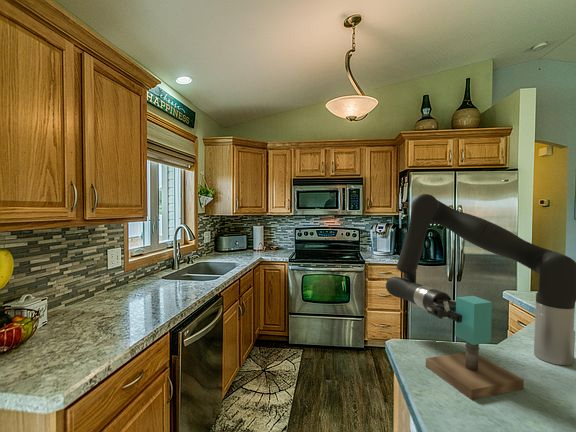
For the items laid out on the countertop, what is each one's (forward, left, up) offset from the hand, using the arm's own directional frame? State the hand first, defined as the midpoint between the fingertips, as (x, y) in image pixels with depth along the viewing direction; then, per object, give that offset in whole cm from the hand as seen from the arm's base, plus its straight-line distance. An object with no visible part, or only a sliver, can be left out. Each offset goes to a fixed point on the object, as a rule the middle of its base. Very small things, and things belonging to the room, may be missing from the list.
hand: (473, 317), depth 85 cm
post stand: (0, 0, -17) cm, 17 cm away
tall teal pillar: (0, 0, -6) cm, 6 cm away
